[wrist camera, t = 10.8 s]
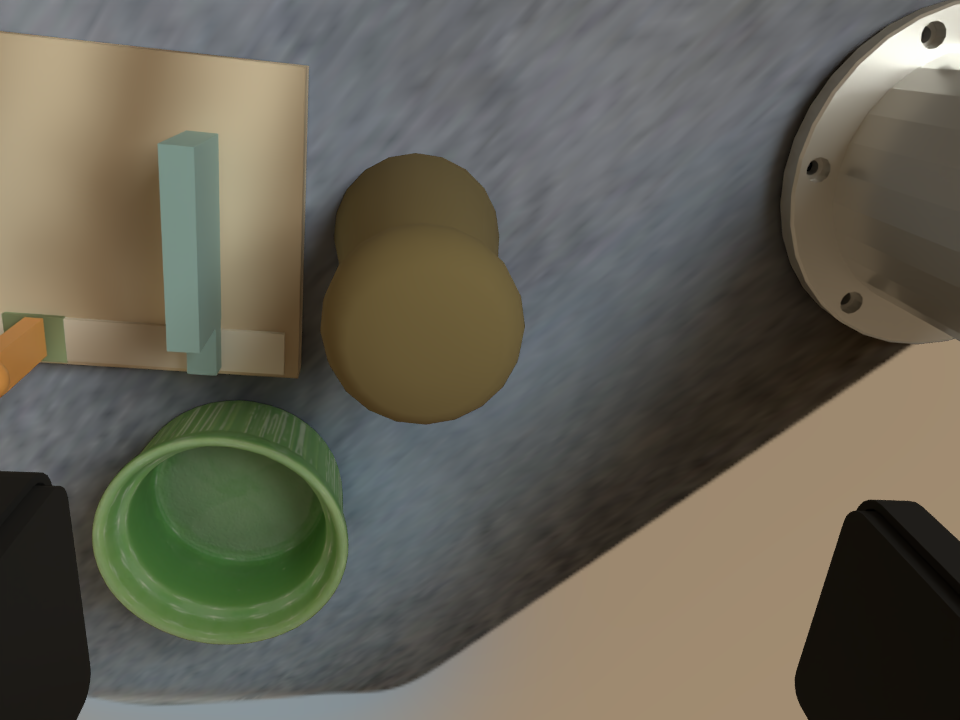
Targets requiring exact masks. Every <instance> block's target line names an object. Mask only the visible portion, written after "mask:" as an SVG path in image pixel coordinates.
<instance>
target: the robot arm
mask: <svg viewBox="0 0 960 720" xmlns="http://www.w3.org/2000/svg"><path fill="white" fill-rule="evenodd" d="M922 31H923V37H922V39H921V33H922ZM811 161H812V168H811V170H810V171H808V172H807V167H808V165H809V164H810V162H811ZM780 209H781V224H782V236H783V240H784V243H785V247H786V251H787V254H788V258H789V261H790V264H791V266H792V268H793V270H794V272H795V273H796V275H797V277H798V279H799V281H800V283H801V285H802V287H803V288H804V289H805V290H806V291H807V293H808V294H809V295H810V296H811V297H812V298H813V299H814V301H815V302H816V303H817V304H818V305H819V306H820V307H821V308H822V309H824V310H825V311H826V312H828V313H829V314H831V315H832V316H833V317H835V318H836V319H837V320H839V321H840V322H842V323H843V324H845V325H847V326H849V327H851V328H853V329H854V330H856V331H858V332H860V333H862V334H863V335H867V336H870V337H874V338H877V339H881V340H884V341H888V342H895V343H908V344H924V343H933V342H942V341H948V340H952V339H957V340H959V341H960V0H948V1H944V2H941V3H938V4H934V5H931V6H928V7H924V8H921V9H919V10H917V11H915V12H913V13H911V14H909V15H907V16H906V17H904V18H902V19H900V20H898V21H896V22H894V23H892V24H890V25H888V26H887V27H886V28H884V29H883V30H882V31H880V32H879V33H878V34H876V35H875V36H873V37H872V38H871V39H869V40H868V41H867V42H865V43H864V44H863V45H861V46H860V47H859V48H858V49H857V50H856V51H855V52H854V53H853V54H852V55H851V56H850V57H849V58H848V59H847V60H846V61H845V62H844V63H843V64H842V65H841V66H840V67H839V68H838V69H837V70H836V71H835V72H834V74H833V75H832V76H831V77H830V79H829V80H828V81H827V83H826V84H825V86H824V87H823V89H822V90H821V91H820V93H819V94H818V96H817V97H816V98H815V100H814V101H813V103H812V104H811V106H810V107H809V110H808V112H807V114H806V116H805V118H804V120H803V122H802V124H801V126H800V128H799V130H798V132H797V134H796V136H795V138H794V141H793V144H792V148H791V151H790V154H789V158H788V161H787V164H786V168H785V171H784V177H783V186H782V194H781V202H780ZM842 298H843V299H842ZM90 676H91V670H90V661H89V653H88V646H87V638H86V630H85V623H84V615H83V608H82V600H81V593H80V585H79V578H78V570H77V563H76V555H75V548H74V540H73V533H72V525H71V518H70V510H69V502H68V497H67V493H66V491H65V489H64V488H63V487H61V486H52V484H51V481H50V479H49V477H48V475H46V474H44V473H39V472H9V471H0V720H77V717H78V715H79V713H80V711H81V709H82V707H83V705H84V703H85V700H86V697H87V694H88V690H89V685H90ZM795 689H796V695H797V699H798V701H799V704H800V706H801V707H802V709H803V711H804V713H805V715H806V716H807V718H808V720H960V541H959V540H958V539H957V538H956V537H954V536H953V535H952V534H951V533H950V532H949V531H948V530H947V529H946V528H945V527H944V526H943V525H942V524H940V523H939V522H938V521H937V520H936V519H935V518H934V517H933V516H932V515H931V514H930V513H928V512H927V511H926V510H925V509H924V508H923V507H922V506H920V505H919V504H918V503H916V502H911V501H894V500H893V501H892V500H867V501H864V502H863V503H862V504H861V505H860V506H859V507H858V508H857V510H856V511H852V512H850V513H849V514H848V515H847V516H846V518H845V520H844V523H843V526H842V529H841V532H840V535H839V538H838V542H837V545H836V548H835V551H834V554H833V557H832V560H831V564H830V567H829V570H828V573H827V576H826V579H825V582H824V586H823V589H822V592H821V595H820V598H819V601H818V605H817V608H816V611H815V614H814V617H813V620H812V623H811V626H810V630H809V633H808V636H807V639H806V642H805V645H804V648H803V652H802V655H801V658H800V661H799V664H798V667H797V671H796V675H795Z"/></svg>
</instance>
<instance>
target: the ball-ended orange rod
mask: <svg viewBox="0 0 960 720" xmlns="http://www.w3.org/2000/svg"><path fill="white" fill-rule="evenodd" d="M46 356H47V351H46V341H45V332H44V323H43V318H31V317H24V318H23V319H21V320H20V321H19V322H17V323H16V324H15V325H13V326H12V327H11V328H9V329H8V330H7V331H5V332H4V333H3V334H2V335H0V398H1V397H2V396H3V395H4V394H6V393H7V392H8V391H9V390H10V389H11V388H12V387H13V386H14V385H15V384H16V383H18V382H19V381H20V380H21V379H22V378H23V377H24V376H25V375H26V374H27V373H29V372H30V371H31V370H32V369H33V368H34V367H35V366H36V365H37V364H38V363H39V362H41V361H42V360H43V359H44V358H45V357H46Z"/></svg>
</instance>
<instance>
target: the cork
mask: <svg viewBox="0 0 960 720" xmlns="http://www.w3.org/2000/svg"><path fill="white" fill-rule="evenodd" d="M334 241H335V246H336V251H337V256H338V261H339V266H338V268H337V270H336V272H335V274H334V277H333V279H332V281H331V283H330V285H329V287H328V289H327V291H326V294H325V297H324V300H323V308H322V318H321V328H320V332H321V336H322V340H323V344H324V348H325V352H326V356H327V360H328V362H329V365H330V367H331V368H332V370H333V371H334V373H335V375H336V376H337V378H338V379H339V381H340V382H341V384H342V386H343V387H344V389H345V390H346V392H348V393H349V394H350V395H351V396H352V397H354V398H355V399H356V400H357V401H359V402H360V403H361V404H362V405H363V406H365V407H366V408H367V409H368V410H370V411H373V412H375V413H377V414H380V415H382V416H385V417H387V418H389V419H392V420H394V421H398V422H407V423H416V424H432V423H438V422H443V421H449V420H455V419H457V418H459V417H461V416H463V415H465V414H467V413H469V412H471V411H473V410H476V409H478V408H480V407H482V406H483V405H484V404H485V403H486V402H487V401H488V400H489V399H490V398H491V397H492V396H494V395H495V394H496V393H497V392H498V391H499V390H500V389H501V388H502V387H503V386H504V384H505V382H506V381H507V379H508V377H509V375H510V374H511V372H512V370H513V368H514V367H515V365H516V363H517V361H518V357H519V353H520V348H521V343H522V338H523V333H524V328H525V324H524V316H523V309H522V301H521V296H520V294H519V292H518V290H517V288H516V286H515V284H514V282H513V280H512V278H511V276H510V274H509V272H508V270H507V268H506V266H505V264H504V262H503V261H502V260H500V259H499V258H498V246H499V232H498V225H497V218H496V211H495V209H494V207H493V205H492V203H491V201H490V199H489V197H488V195H487V193H486V191H485V189H484V188H483V187H482V186H481V185H480V184H479V183H478V182H477V181H476V180H475V178H474V177H473V176H472V175H471V174H470V173H469V172H468V171H467V170H466V169H464V168H462V167H460V166H458V165H456V164H454V163H452V162H450V161H448V160H446V159H444V158H442V157H436V156H430V155H424V154H418V153H413V154H407V155H401V156H395V157H389V158H387V159H385V160H383V161H381V162H380V163H378V164H376V165H374V166H372V167H370V168H368V169H366V170H365V171H364V172H363V173H362V174H361V175H360V176H359V177H358V178H357V179H356V180H355V182H354V183H353V184H352V185H351V186H350V187H349V188H348V189H347V191H346V193H345V195H344V198H343V200H342V202H341V204H340V206H339V208H338V211H337V213H336V223H335V233H334Z"/></svg>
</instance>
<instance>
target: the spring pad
mask: <svg viewBox="0 0 960 720" xmlns="http://www.w3.org/2000/svg"><path fill="white" fill-rule="evenodd" d="M158 165H159V187H160V210H161V232H162V254H163V276H164V298H165V320H166V342H167V351H170V352H185V353H187V374H197V375H213V376H217V374H218V372H219V370H220V369H221V270H220V208H219V147H218V134H217V133H207V132H197V131H187V130H186V131H184V132H182V133H180V134H177V135H175V136H173V137H171V138H169V139H167V140H164V141H162V142H160V143H158Z"/></svg>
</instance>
